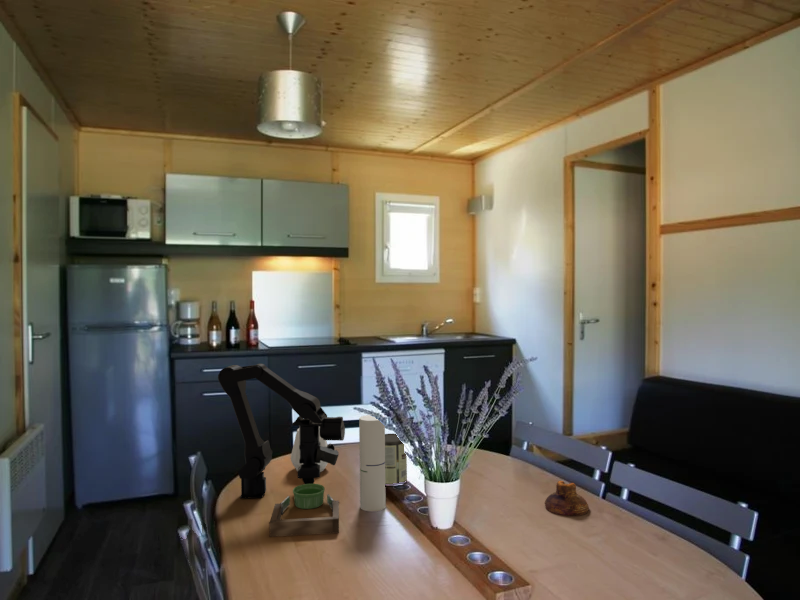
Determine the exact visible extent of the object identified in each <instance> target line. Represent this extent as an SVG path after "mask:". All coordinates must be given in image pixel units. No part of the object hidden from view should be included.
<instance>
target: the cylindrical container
mask: <svg viewBox="0 0 800 600" xmlns="http://www.w3.org/2000/svg"><path fill="white" fill-rule="evenodd" d="M370 415H371V414H368V415H367V414H366V415H361V416H359V418H358V419H359V420H358V421H359V422H358V424H359V427H358V428H359V429H358V433H359V434H358V435H359V439H358V441H359V444H358V445H359V508H360V509H361V510H362V511H365V512H380V511H383V510H385V508H386V501H387V500H386V496H387V495H386V487H385V434H386V427H385V426H384V425H383V424H382V423H381V422H380V421H379V420H378V419H376V418H375V417H372V416H370ZM382 416H383V415H382ZM383 417H385V416H383Z"/></svg>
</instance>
